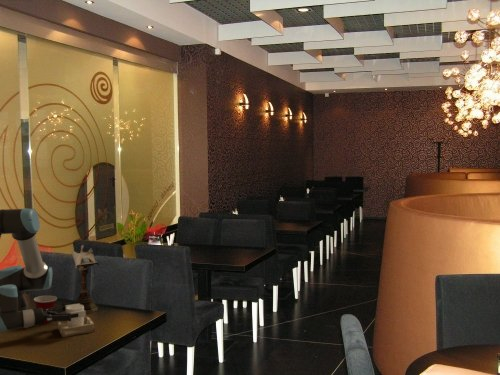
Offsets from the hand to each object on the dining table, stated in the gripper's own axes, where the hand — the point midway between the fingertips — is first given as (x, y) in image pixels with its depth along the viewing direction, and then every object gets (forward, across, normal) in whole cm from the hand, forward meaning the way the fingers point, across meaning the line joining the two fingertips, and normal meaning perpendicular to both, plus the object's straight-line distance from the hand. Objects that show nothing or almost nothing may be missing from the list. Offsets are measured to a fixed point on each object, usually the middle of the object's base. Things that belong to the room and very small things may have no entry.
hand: (82, 309), depth 248 cm
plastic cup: (-13, -21, -9) cm, 27 cm away
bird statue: (+8, -27, -9) cm, 30 cm away
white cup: (-3, 0, -8) cm, 9 cm away
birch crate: (-3, 0, -9) cm, 10 cm away
